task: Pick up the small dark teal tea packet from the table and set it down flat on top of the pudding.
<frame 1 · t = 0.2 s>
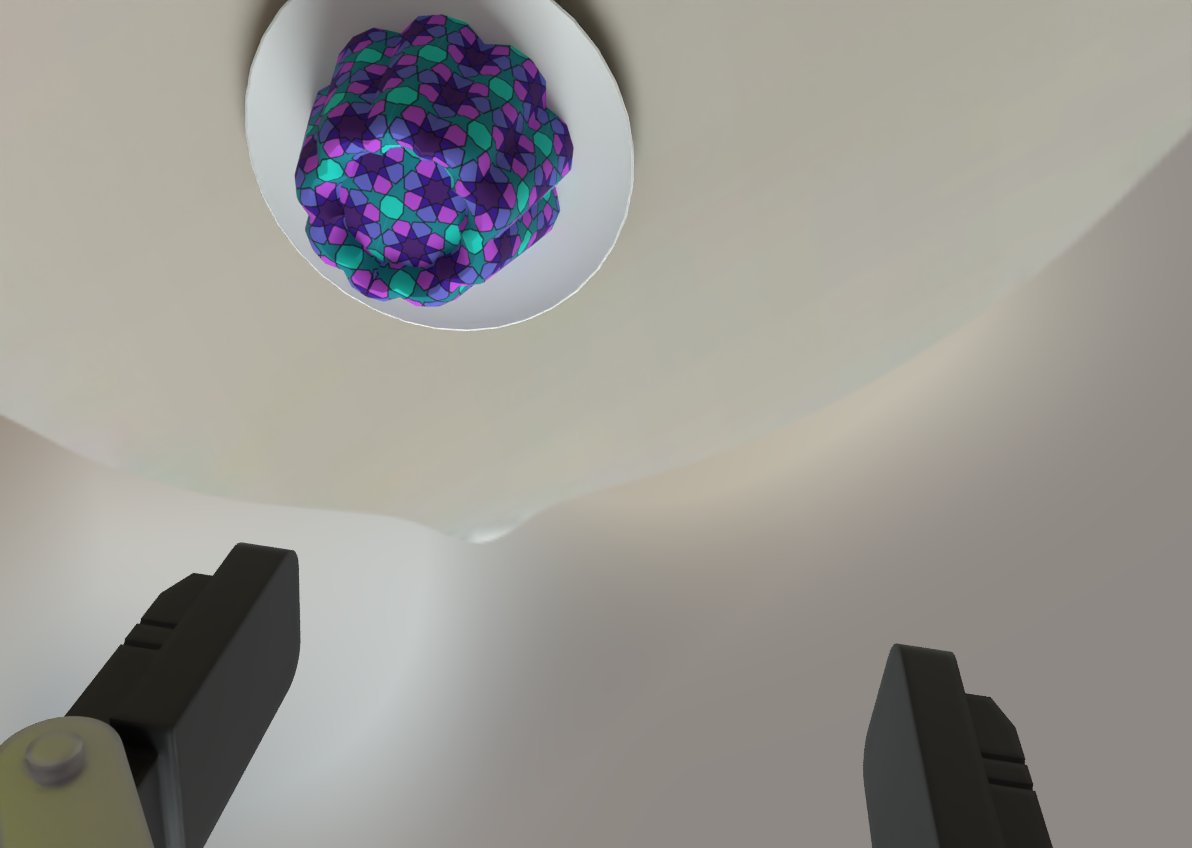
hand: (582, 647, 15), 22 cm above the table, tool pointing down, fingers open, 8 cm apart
pudding: (444, 146, 35), on the table
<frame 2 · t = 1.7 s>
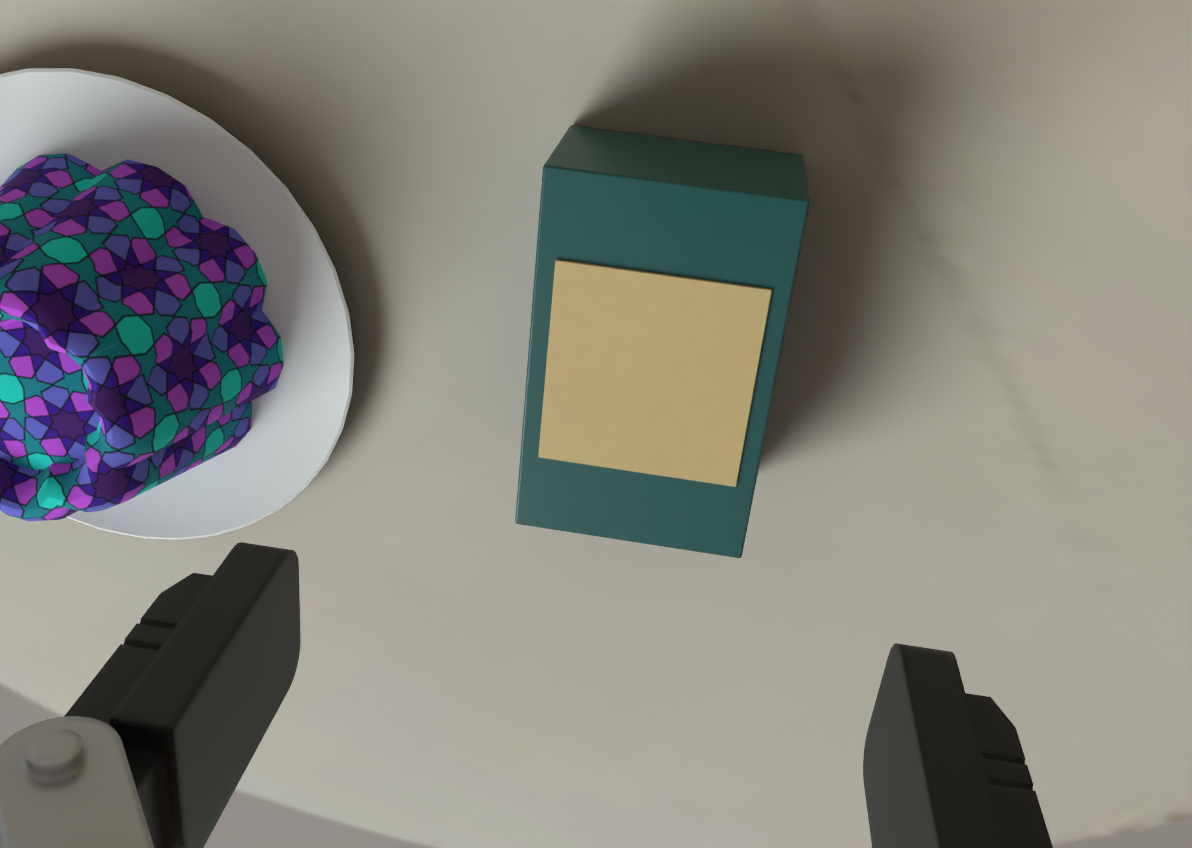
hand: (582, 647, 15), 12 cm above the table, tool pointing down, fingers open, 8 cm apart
pudding: (129, 312, 28), on the table
packet: (662, 313, 26), on the table
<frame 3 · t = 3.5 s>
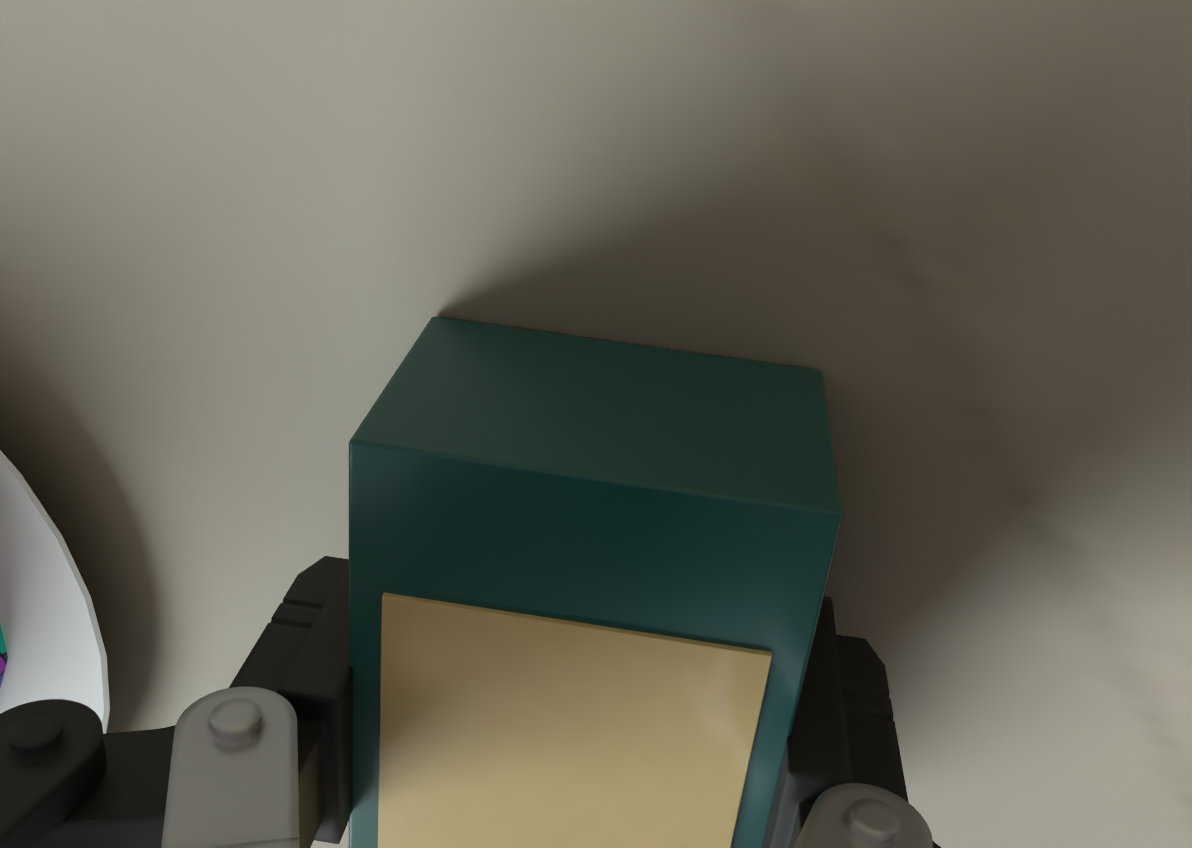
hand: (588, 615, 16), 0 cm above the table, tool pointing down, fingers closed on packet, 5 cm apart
packet: (593, 597, 16), on the table, touching gripper
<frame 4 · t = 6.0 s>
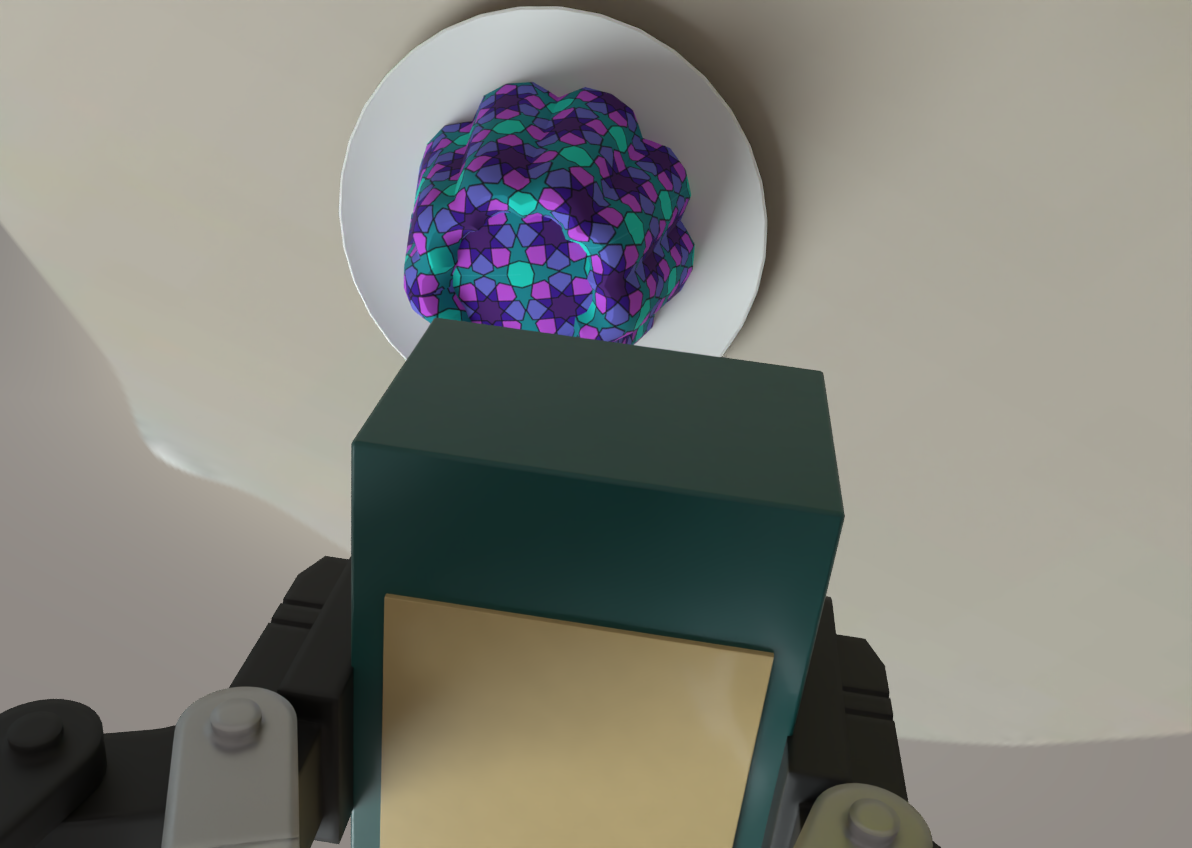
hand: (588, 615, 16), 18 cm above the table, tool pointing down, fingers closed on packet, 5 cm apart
pudding: (554, 224, 32), on the table
packet: (595, 598, 16), point 18 cm above the table, touching gripper
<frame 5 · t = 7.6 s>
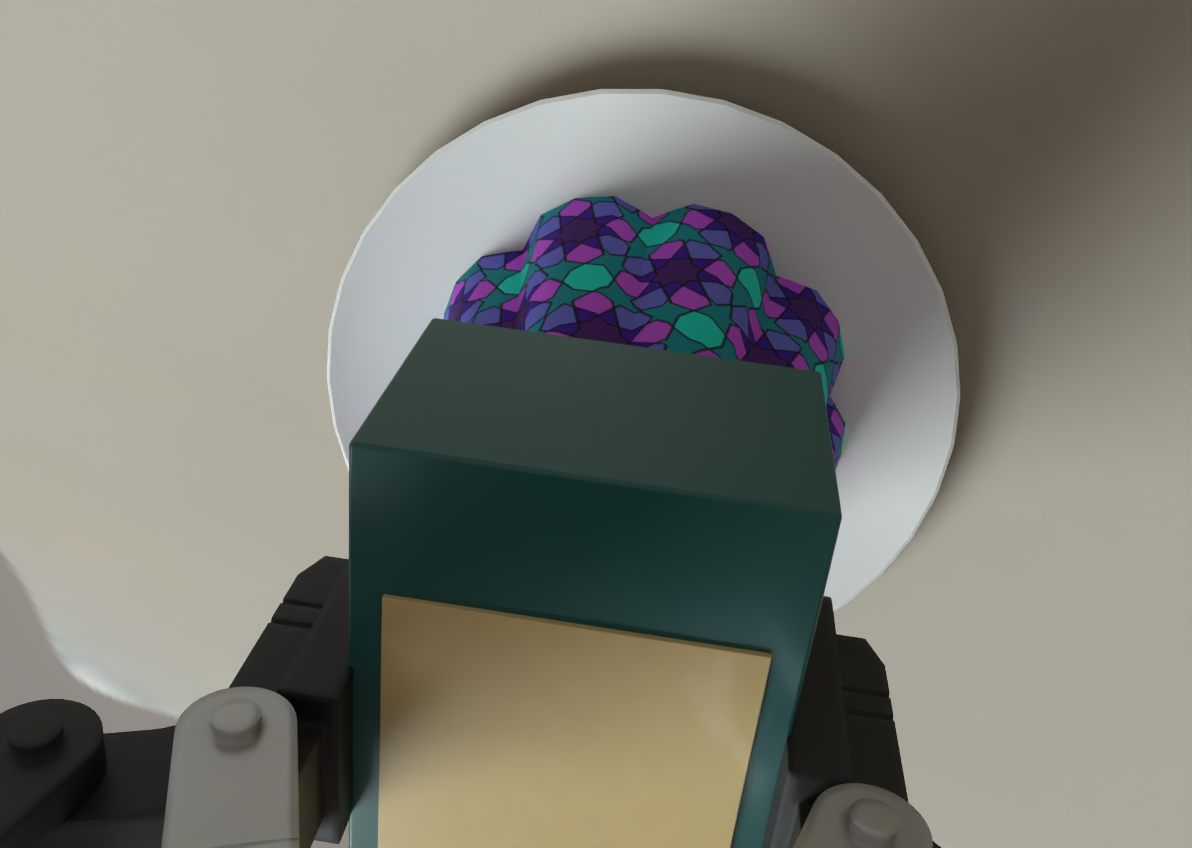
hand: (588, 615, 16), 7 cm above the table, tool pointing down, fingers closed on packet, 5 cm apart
pudding: (637, 390, 22), on the table
packet: (593, 598, 16), point 7 cm above the table, touching gripper
when the fingers open (6 cm above the table, at t = 8.6 s): packet stays where it is, resting on pudding.
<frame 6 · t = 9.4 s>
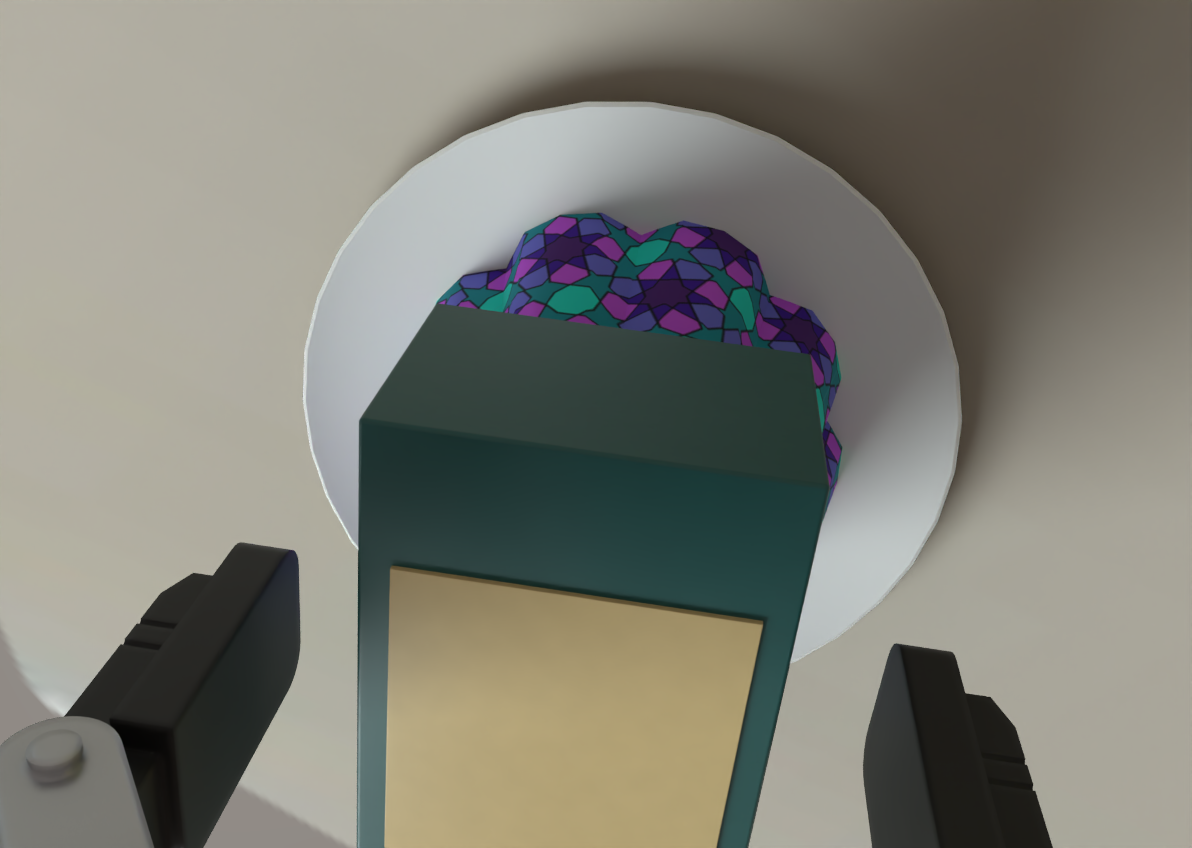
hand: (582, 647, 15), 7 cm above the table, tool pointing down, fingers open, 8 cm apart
pudding: (626, 412, 22), on the table, touching packet
packet: (592, 576, 17), point 5 cm above the table, touching pudding
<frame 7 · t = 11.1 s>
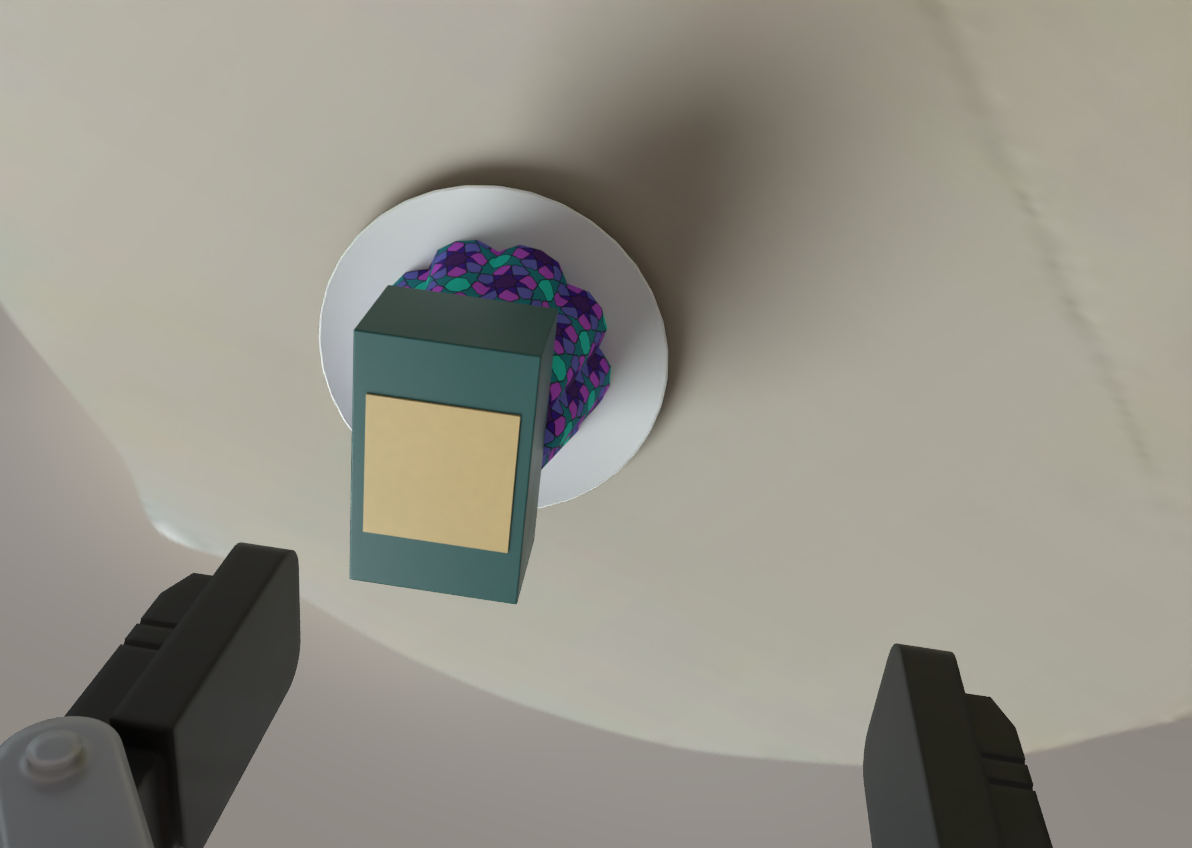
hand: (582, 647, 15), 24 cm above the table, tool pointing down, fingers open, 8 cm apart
pudding: (496, 348, 39), on the table, touching packet
packet: (464, 418, 35), point 5 cm above the table, touching pudding
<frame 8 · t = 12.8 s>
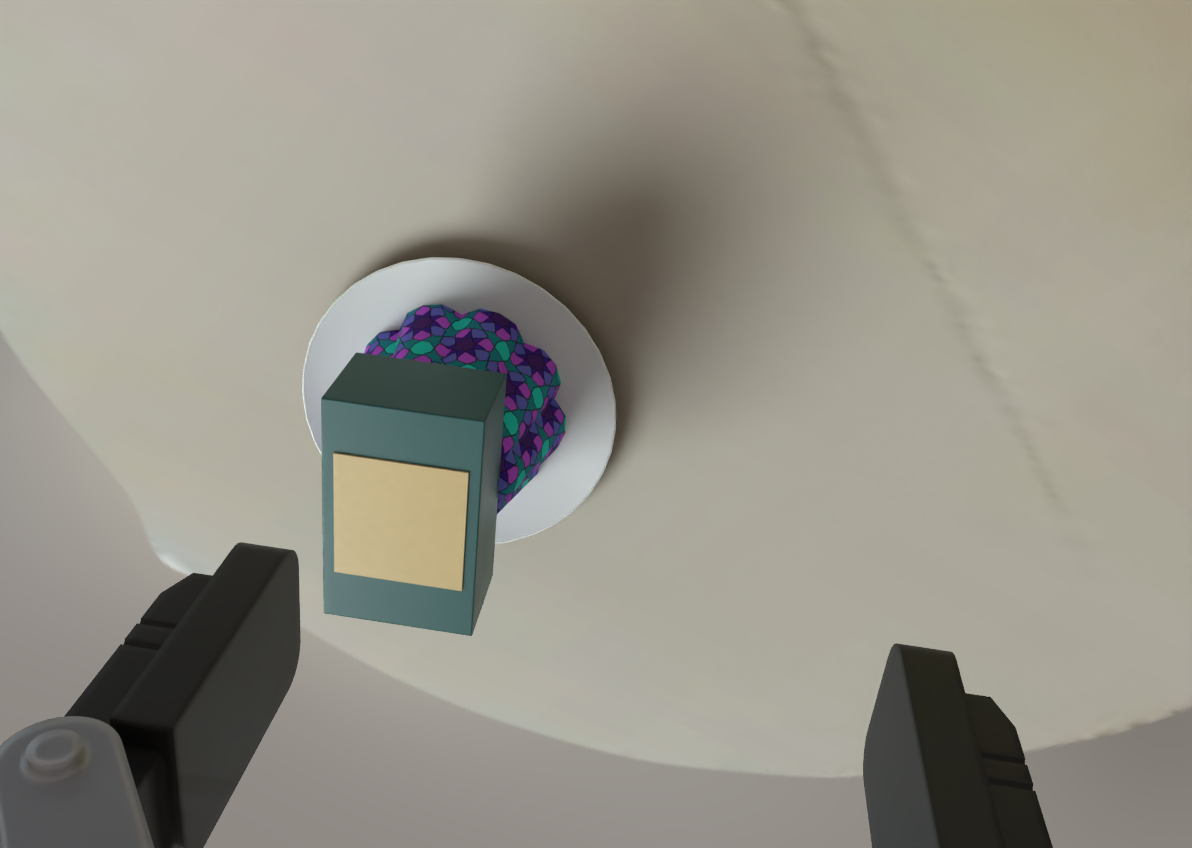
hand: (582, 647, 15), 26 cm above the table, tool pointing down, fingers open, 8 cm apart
pudding: (463, 399, 44), on the table, touching packet
packet: (427, 468, 39), point 5 cm above the table, touching pudding
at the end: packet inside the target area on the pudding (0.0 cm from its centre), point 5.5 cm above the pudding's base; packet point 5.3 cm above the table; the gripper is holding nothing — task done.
